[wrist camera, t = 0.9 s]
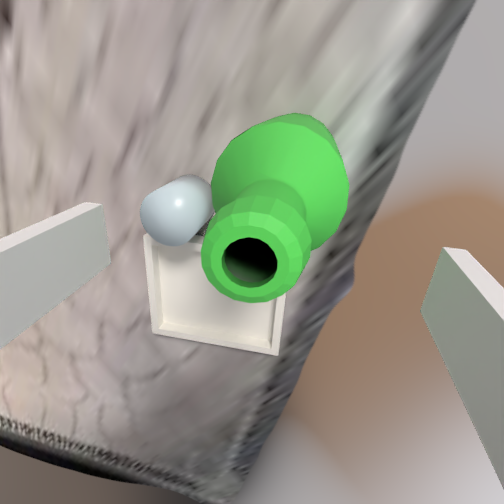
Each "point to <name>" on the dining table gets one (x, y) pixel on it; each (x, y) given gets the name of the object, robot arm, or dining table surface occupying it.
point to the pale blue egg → (177, 210)
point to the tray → (205, 303)
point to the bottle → (272, 206)
